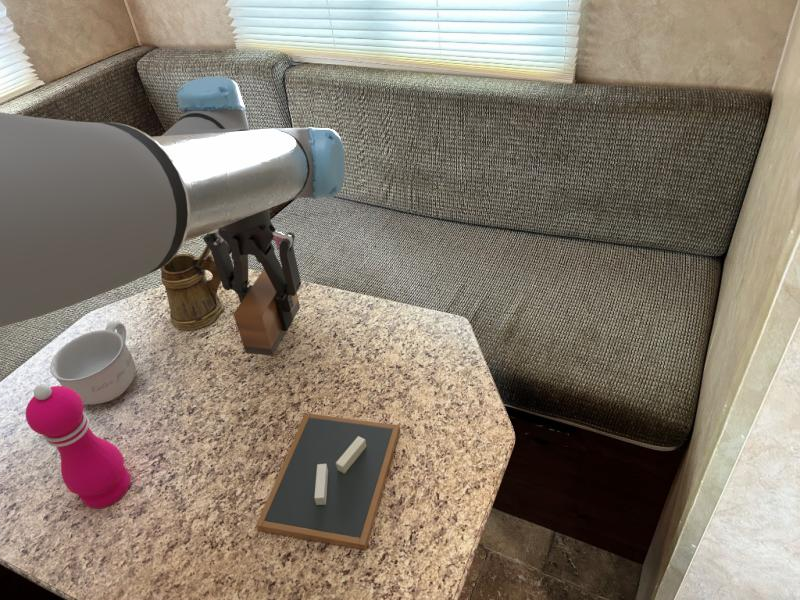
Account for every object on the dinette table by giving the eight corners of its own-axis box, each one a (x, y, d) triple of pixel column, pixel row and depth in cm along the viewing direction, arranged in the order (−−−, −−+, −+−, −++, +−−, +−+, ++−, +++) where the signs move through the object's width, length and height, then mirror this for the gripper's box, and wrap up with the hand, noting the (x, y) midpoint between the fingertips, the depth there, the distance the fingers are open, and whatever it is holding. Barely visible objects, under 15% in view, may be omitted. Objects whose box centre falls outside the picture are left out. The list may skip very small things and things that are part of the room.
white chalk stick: (344, 474, 79) (342, 466, 78) (337, 470, 79) (335, 462, 78) (366, 446, 82) (365, 439, 81) (359, 443, 83) (358, 435, 82)
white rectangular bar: (325, 504, 76) (323, 497, 75) (316, 505, 76) (314, 498, 75) (328, 470, 79) (326, 463, 78) (319, 471, 79) (317, 464, 78)
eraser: (273, 356, 93) (261, 316, 88) (245, 353, 94) (232, 313, 89) (300, 307, 102) (291, 268, 97) (275, 304, 103) (265, 266, 98)
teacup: (110, 421, 91) (89, 385, 86) (55, 406, 94) (31, 370, 89) (167, 358, 101) (151, 322, 96) (116, 346, 104) (97, 310, 99)
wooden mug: (241, 327, 105) (213, 241, 94) (165, 332, 106) (128, 247, 95) (251, 295, 112) (226, 211, 101) (179, 299, 113) (146, 216, 101)
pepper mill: (110, 518, 78) (39, 417, 65) (66, 504, 80) (-10, 404, 67) (145, 472, 83) (86, 370, 71) (103, 460, 85) (38, 359, 73)
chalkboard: (366, 550, 72) (364, 545, 71) (257, 530, 75) (255, 525, 74) (400, 430, 85) (399, 424, 84) (307, 417, 88) (305, 412, 88)
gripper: (306, 184, 84) (331, 313, 98) (192, 180, 88) (232, 304, 102) (286, 212, 78) (316, 345, 93) (166, 206, 82) (212, 334, 97)
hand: (272, 323), depth 98 cm, fingers closed on eraser, 5 cm apart
